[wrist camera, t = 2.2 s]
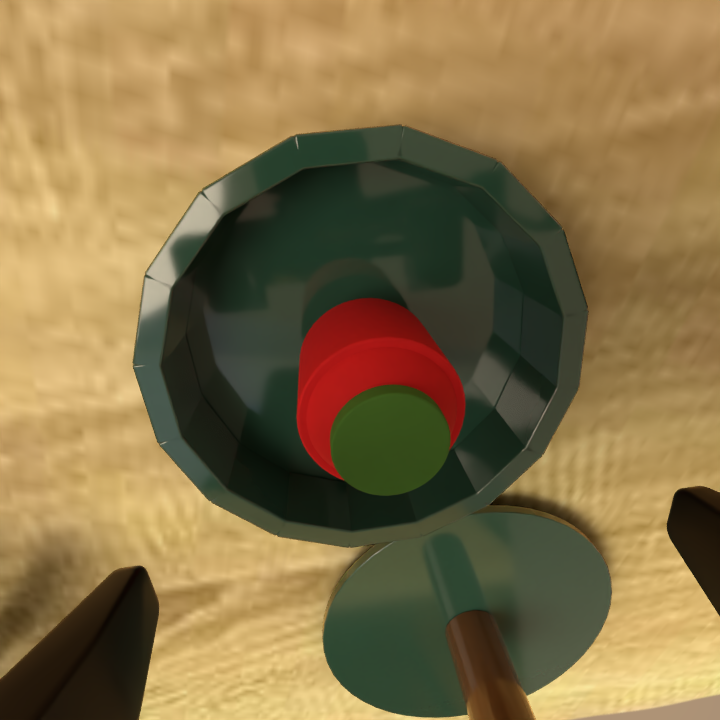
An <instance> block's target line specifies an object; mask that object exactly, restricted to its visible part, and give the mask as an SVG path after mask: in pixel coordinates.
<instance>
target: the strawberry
mask: <svg viewBox="0 0 720 720" xmlns="http://www.w3.org/2000/svg"><path fill="white" fill-rule="evenodd" d="M464 416H465V394H464V390H463V386H462V383H461V380H460V378H459V376H458V374H457V372H456V371H455V369H454V367H453V366H452V365H451V363H450V362H449V361H448V359H447V358H446V356H445V355H444V354H443V352H442V351H441V349H440V348H439V347H438V345H437V344H436V343H435V341H434V340H433V338H432V337H431V336H430V334H429V333H428V331H427V330H426V329H425V327H424V326H423V325H422V323H421V322H420V321H419V320H418V318H417V317H416V316H415V315H413V314H412V313H411V312H410V311H409V310H407V309H406V308H404V307H402V306H400V305H398V304H396V303H394V302H391V301H388V300H383V299H377V298H361V299H355V300H351V301H347V302H344V303H342V304H340V305H337V306H335V307H333V308H332V309H330V310H329V311H327V312H326V313H325V314H323V315H322V316H321V317H320V318H319V319H318V320H317V321H316V322H315V323H314V324H313V325H312V327H311V328H310V330H309V331H308V333H307V335H306V337H305V339H304V341H303V344H302V347H301V352H300V361H299V380H298V399H297V428H298V432H299V436H300V438H301V441H302V443H303V446H304V447H305V449H306V450H307V452H308V454H309V455H310V456H311V457H312V459H313V460H314V461H315V462H316V463H317V464H318V465H319V466H320V467H321V468H323V469H324V470H325V471H327V472H328V473H330V474H331V475H333V476H335V477H337V478H339V479H342V480H345V481H346V482H347V483H348V484H349V485H351V486H352V487H354V488H356V489H358V490H360V491H362V492H365V493H368V494H373V495H380V496H389V495H398V494H403V493H406V492H409V491H412V490H414V489H416V488H418V487H420V486H422V485H423V484H425V483H426V482H428V481H429V480H430V479H431V478H432V477H434V476H435V475H436V473H437V472H438V471H439V470H440V469H441V467H442V466H443V464H444V462H445V460H446V458H447V456H448V453H449V450H450V449H451V447H452V446H453V444H454V443H455V441H456V439H457V437H458V435H459V433H460V430H461V428H462V425H463V420H464Z"/></svg>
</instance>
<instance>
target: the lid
mask: <svg viewBox="0 0 720 720" xmlns="http://www.w3.org/2000/svg"><path fill="white" fill-rule="evenodd" d="M611 595H612V587H611V578H610V574H609V571H608V567H607V565H606V563H605V561H604V559H603V557H602V555H601V553H600V552H599V551H598V549H597V548H596V547H595V546H594V544H593V543H592V542H591V541H590V539H589V538H588V537H587V536H586V535H585V534H584V533H582V532H581V531H580V530H579V529H578V528H577V527H575V526H573V525H572V524H570V523H568V522H567V521H565V520H563V519H561V518H559V517H557V516H554V515H552V514H549V513H547V512H543V511H539V510H535V509H531V508H526V507H518V506H511V505H487V506H486V507H484V508H482V509H480V510H478V511H476V512H474V513H472V514H470V515H467V516H465V517H463V518H461V519H459V520H457V521H455V522H453V523H451V524H448V525H446V526H444V527H442V528H440V529H438V530H436V531H434V532H432V533H429V534H427V535H425V536H421V537H419V538H412V539H405V540H399V541H392V542H385V543H379V544H375V545H374V546H373V547H371V548H370V549H369V550H368V551H367V552H365V553H364V554H363V555H362V556H361V557H360V558H359V559H357V560H356V561H355V563H354V564H353V565H352V566H351V567H350V568H349V569H348V570H347V571H346V573H345V574H344V575H343V577H342V578H341V580H340V581H339V583H338V584H337V585H336V587H335V589H334V591H333V593H332V595H331V597H330V599H329V601H328V604H327V607H326V611H325V614H324V620H323V629H322V634H323V648H324V653H325V657H326V660H327V663H328V665H329V667H330V669H331V671H332V673H333V675H334V676H335V677H336V679H337V680H338V681H339V682H340V684H341V685H342V686H343V687H344V688H345V689H347V690H348V691H349V692H350V693H351V694H352V695H354V696H356V697H357V698H359V699H360V700H362V701H363V702H365V703H368V704H370V705H372V706H374V707H376V708H379V709H382V710H385V711H388V712H392V713H396V714H401V715H406V716H415V717H434V718H437V717H454V716H461V715H468V716H469V720H536V718H535V716H534V713H533V711H532V708H531V706H530V703H529V701H528V699H527V695H529V694H532V693H534V692H535V691H537V690H539V689H541V688H542V687H544V686H546V685H547V684H549V683H550V682H552V681H553V680H555V679H556V678H558V677H559V676H561V675H562V674H563V673H564V672H565V671H567V670H568V669H569V668H570V667H572V666H573V665H574V664H575V663H576V662H577V661H578V660H579V659H580V658H581V657H582V656H583V655H584V654H585V652H586V651H587V650H588V649H589V647H590V646H591V645H592V644H593V642H594V641H595V639H596V638H597V636H598V634H599V633H600V631H601V629H602V627H603V625H604V623H605V621H606V618H607V615H608V612H609V608H610V605H611Z"/></svg>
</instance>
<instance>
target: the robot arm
mask: <svg viewBox="0 0 720 720" xmlns="http://www.w3.org/2000/svg"><path fill="white" fill-rule="evenodd" d="M667 531H668V534H669V537H670V539H671V541H672V543H673V544H674V546H675V547H676V549H677V550H678V552H679V553H680V555H681V557H682V558H683V560H684V561H685V563H686V564H687V566H688V567H689V569H690V571H691V572H692V574H693V575H694V577H695V578H696V580H697V581H698V583H699V585H700V586H701V588H702V589H703V591H704V592H705V594H706V595H707V597H708V599H709V600H710V602H711V603H712V605H713V606H714V608H715V610H716V611H717V613H718V614H719V616H720V492H717V491H715V490H712V489H710V488H707V487H704V486H695V487H688V488H681V489H679V490H677V491H676V492H675V494H674V497H673V501H672V505H671V509H670V513H669V517H668V521H667ZM158 616H159V602H158V598H157V595H156V593H155V590H154V588H153V585H152V583H151V580H150V577H149V575H148V572H147V570H146V569H145V568H144V567H143V566H132V567H125V568H119V569H117V570H115V571H114V572H112V573H111V574H110V575H109V576H108V577H107V578H106V579H105V580H104V581H103V582H102V583H101V584H100V585H99V586H97V587H96V588H95V589H94V590H93V591H92V592H91V593H90V594H89V595H88V596H87V597H86V598H85V599H84V600H83V601H82V602H81V603H80V604H79V605H78V606H77V607H76V608H75V609H73V610H72V611H71V612H70V613H69V614H68V615H67V616H66V617H65V618H64V619H63V620H62V621H61V622H60V623H59V624H58V625H57V626H56V627H55V628H54V629H53V630H52V631H51V632H49V633H48V634H47V635H46V636H45V637H44V638H43V639H42V640H41V641H40V642H39V643H38V644H37V645H36V646H35V647H34V648H33V649H32V650H31V651H30V652H29V653H28V654H27V655H25V656H24V657H23V658H22V659H21V660H20V661H19V662H18V663H17V664H16V665H15V666H14V667H13V668H12V669H11V670H10V671H9V672H8V673H7V674H6V675H5V676H4V677H3V678H1V679H0V720H139V716H140V711H141V706H142V701H143V696H144V691H145V685H146V680H147V675H148V669H149V664H150V659H151V653H152V648H153V643H154V637H155V632H156V627H157V621H158Z"/></svg>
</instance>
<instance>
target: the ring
mask: <svg viewBox="0 0 720 720" xmlns="http://www.w3.org/2000/svg"><path fill="white" fill-rule="evenodd" d="M145 274H146V275H145V276H144V280H143V287H142V295H141V302H140V310H139V318H138V325H137V333H136V340H135V348H134V355H133V369H134V372H135V375H136V378H137V381H138V384H139V387H140V390H141V393H142V396H143V399H144V402H145V406H146V409H147V412H148V415H149V418H150V421H151V424H152V427H153V430H154V433H155V436H156V439H157V442H158V443H159V445H160V446H161V448H162V449H163V450H164V451H165V452H166V453H167V454H168V455H169V457H170V458H171V459H172V460H173V461H174V462H175V463H176V464H177V466H178V467H179V468H180V469H181V470H182V471H183V472H184V473H185V475H186V476H187V477H188V478H189V479H190V480H191V481H192V482H193V484H194V485H195V486H196V487H197V488H198V489H199V490H200V491H201V493H202V494H203V495H204V496H205V497H206V498H207V499H208V500H209V501H211V502H212V503H213V504H215V505H217V506H219V507H221V508H223V509H225V510H227V511H229V512H230V513H232V514H234V515H236V516H238V517H240V518H242V519H244V520H246V521H248V522H250V523H252V524H254V525H256V526H257V527H259V528H261V529H263V530H265V531H267V532H269V533H271V534H273V535H277V536H278V537H282V538H289V539H295V540H302V541H308V542H315V543H321V544H328V545H334V546H341V547H347V548H348V547H349V546H350V547H351V548H352V547H359V546H365V545H372V544H379V543H385V542H392V541H399V540H405V539H412V538H419V537H421V536H425V535H427V534H429V533H432V532H434V531H436V530H438V529H440V528H442V527H444V526H446V525H448V524H451V523H453V522H455V521H457V520H459V519H461V518H463V517H465V516H467V515H470V514H472V513H474V512H476V511H478V510H480V509H482V508H484V507H486V506H487V505H490V504H491V503H492V502H493V501H494V500H495V499H496V498H497V497H498V496H499V495H500V494H502V493H503V492H504V491H505V490H506V489H507V488H508V487H509V486H510V485H511V484H512V483H513V482H515V481H516V480H517V479H518V478H519V477H520V476H521V475H522V474H523V473H524V472H525V471H526V470H528V469H529V468H530V467H531V466H532V465H533V464H534V463H535V462H536V461H537V460H538V459H539V458H541V457H542V455H543V454H544V452H545V450H546V449H547V447H548V445H549V443H550V441H551V439H552V438H553V436H554V434H555V432H556V430H557V428H558V426H559V425H560V423H561V421H562V419H563V417H564V415H565V413H566V412H567V410H568V408H569V406H570V404H571V402H572V400H573V399H574V397H575V395H576V393H577V391H578V388H579V385H580V377H581V369H582V361H583V352H584V344H585V336H586V328H587V319H588V306H587V303H586V300H585V297H584V294H583V290H582V287H581V284H580V281H579V277H578V274H577V271H576V268H575V265H574V261H573V258H572V255H571V252H570V248H569V245H568V242H567V239H566V236H565V232H564V230H563V229H562V226H561V225H560V224H559V223H558V222H557V221H556V220H555V219H554V217H553V216H552V215H551V214H550V213H549V212H548V211H547V210H546V209H545V208H544V207H543V206H542V205H541V204H540V203H539V202H538V200H537V199H536V198H535V197H534V196H533V195H532V194H531V193H530V192H529V191H528V190H527V189H526V188H525V187H524V186H523V185H522V184H521V182H520V181H519V180H518V179H517V178H516V177H515V176H514V175H513V174H512V173H511V172H510V171H509V170H508V169H507V168H506V167H505V165H504V164H503V163H502V162H500V161H498V160H497V159H495V158H493V157H490V156H487V155H484V154H482V153H479V152H476V151H474V150H471V149H468V148H466V147H463V146H460V145H457V144H455V143H452V142H449V141H447V140H444V139H441V138H439V137H436V136H433V135H430V134H428V133H425V132H422V131H420V130H417V129H414V128H412V127H409V126H406V125H405V126H402V125H400V124H399V125H388V126H377V127H367V128H356V129H345V130H335V131H324V132H313V133H303V134H296V135H295V136H290V137H289V138H287V139H285V140H283V141H282V142H280V143H278V144H277V145H275V146H273V147H272V148H270V149H268V150H267V151H265V152H263V153H262V154H260V155H258V156H256V157H255V158H253V159H251V160H250V161H248V162H246V163H245V164H243V165H241V166H240V167H238V168H236V169H235V170H233V171H231V172H229V173H228V174H226V175H224V176H223V177H221V178H219V179H218V180H216V181H214V182H213V183H211V184H209V185H208V186H206V187H204V188H203V189H202V191H200V192H198V194H197V195H196V197H195V198H194V200H193V201H192V203H191V204H190V206H189V207H188V209H187V210H186V212H185V213H184V215H183V216H182V218H181V219H180V221H179V222H178V224H177V225H176V227H175V228H174V230H173V231H172V233H171V234H170V236H169V237H168V239H167V240H166V242H165V243H164V245H163V246H162V248H161V249H160V251H159V252H158V254H157V255H156V257H155V258H154V260H153V261H152V263H151V264H150V266H149V267H148V269H147V270H146V272H145ZM361 298H377V299H383V300H388V301H391V302H394V303H396V304H398V305H400V306H402V307H404V308H406V309H407V310H409V311H410V312H411V313H412V314H413V315H415V316H416V317H417V318H418V320H419V321H420V322H421V323H422V325H423V326H424V327H425V329H426V330H427V331H428V333H429V334H430V336H431V337H432V338H433V340H434V341H435V343H436V344H437V345H438V347H439V348H440V349H441V351H442V352H443V354H444V355H445V356H446V358H447V359H448V361H449V362H450V363H451V365H452V366H453V367H454V369H455V371H456V372H457V374H458V376H459V378H460V380H461V383H462V386H463V390H464V394H465V416H464V420H463V425H462V428H461V430H460V433H459V435H458V437H457V439H456V441H455V443H454V444H453V446H452V447H451V449H450V450H449V453H448V456H447V458H446V460H445V462H444V464H443V466H442V467H441V469H440V470H439V471H438V472H437V473H436V475H435V476H434V477H432V478H431V479H430V480H429V481H428V482H426V483H425V484H423V485H422V486H420V487H418V488H416V489H414V490H412V491H409V492H406V493H403V494H398V495H389V496H380V495H373V494H368V493H365V492H362V491H360V490H358V489H356V488H354V487H352V486H351V485H349V484H348V483H347V482H346V481H345V480H342V479H339V478H337V477H335V476H333V475H331V474H330V473H328V472H327V471H325V470H324V469H323V468H321V467H320V466H319V465H318V464H317V463H316V462H315V461H314V460H313V459H312V457H311V456H310V455H309V454H308V452H307V450H306V449H305V447H304V446H303V443H302V441H301V438H300V436H299V432H298V428H297V399H298V380H299V361H300V352H301V347H302V344H303V341H304V339H305V337H306V335H307V333H308V331H309V330H310V328H311V327H312V325H313V324H314V323H315V322H316V321H317V320H318V319H319V318H320V317H321V316H322V315H323V314H325V313H326V312H327V311H329V310H330V309H332V308H333V307H335V306H337V305H340V304H342V303H344V302H347V301H351V300H355V299H361Z"/></svg>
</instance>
